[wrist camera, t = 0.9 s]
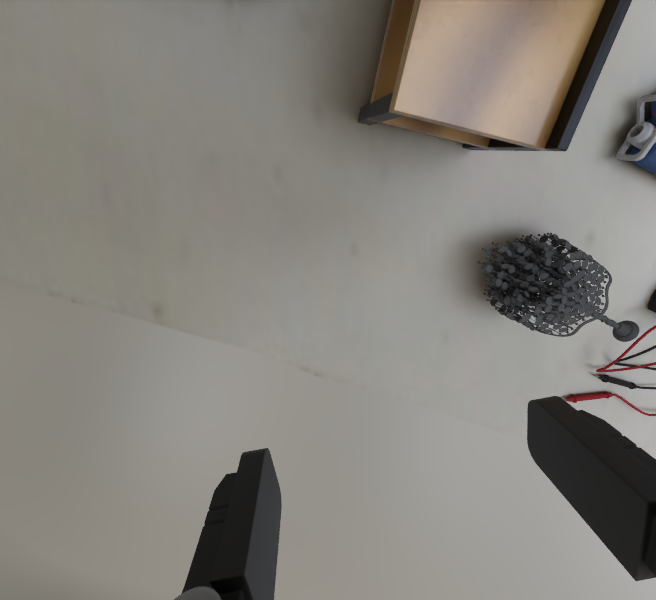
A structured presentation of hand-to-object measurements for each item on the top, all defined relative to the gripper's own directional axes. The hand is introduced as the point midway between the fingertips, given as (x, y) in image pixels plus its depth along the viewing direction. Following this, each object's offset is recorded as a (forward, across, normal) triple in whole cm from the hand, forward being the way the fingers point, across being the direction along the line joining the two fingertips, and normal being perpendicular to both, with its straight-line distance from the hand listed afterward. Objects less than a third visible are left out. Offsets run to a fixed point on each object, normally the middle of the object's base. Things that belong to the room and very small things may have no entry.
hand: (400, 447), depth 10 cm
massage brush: (+30, -23, +7) cm, 39 cm away
